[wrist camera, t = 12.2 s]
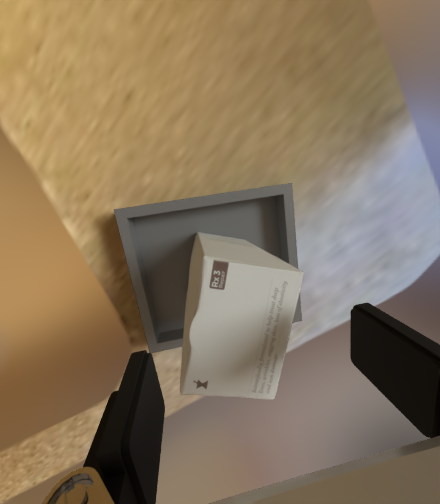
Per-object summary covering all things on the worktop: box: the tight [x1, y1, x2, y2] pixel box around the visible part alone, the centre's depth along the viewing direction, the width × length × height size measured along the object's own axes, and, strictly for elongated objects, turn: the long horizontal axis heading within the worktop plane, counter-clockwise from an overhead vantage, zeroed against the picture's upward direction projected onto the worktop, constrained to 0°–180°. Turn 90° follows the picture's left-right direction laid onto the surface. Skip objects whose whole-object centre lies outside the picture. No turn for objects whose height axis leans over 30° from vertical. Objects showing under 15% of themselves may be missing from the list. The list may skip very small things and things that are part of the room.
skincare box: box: [180, 232, 304, 399], centre depth 19 cm, size 8×6×15 cm
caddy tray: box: [114, 183, 302, 353], centre depth 26 cm, size 16×18×3 cm
